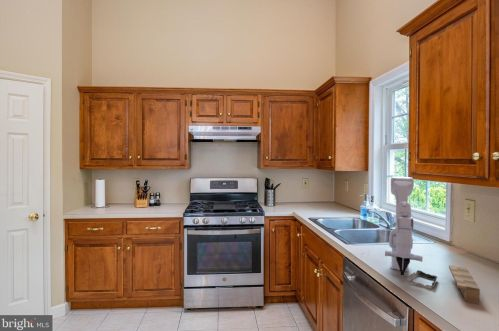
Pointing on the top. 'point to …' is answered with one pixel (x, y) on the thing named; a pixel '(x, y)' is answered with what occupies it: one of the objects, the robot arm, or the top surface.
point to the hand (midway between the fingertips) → (402, 274)
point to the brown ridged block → (466, 284)
